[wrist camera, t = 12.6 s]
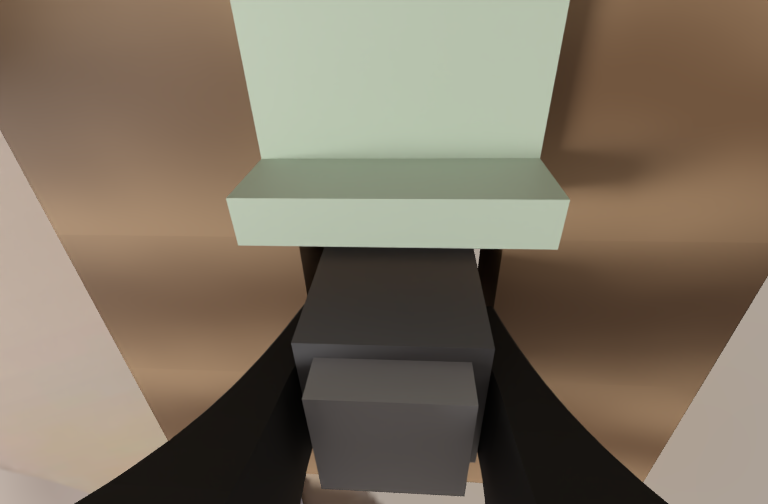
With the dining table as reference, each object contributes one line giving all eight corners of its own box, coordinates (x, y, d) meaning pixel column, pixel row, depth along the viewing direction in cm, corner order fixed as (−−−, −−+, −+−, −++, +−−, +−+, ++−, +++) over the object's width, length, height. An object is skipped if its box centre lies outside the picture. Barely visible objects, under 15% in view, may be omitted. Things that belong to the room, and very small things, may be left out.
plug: (455, 303, 15) (480, 506, 9) (348, 300, 15) (306, 496, 9) (464, 206, 13) (504, 392, 7) (338, 205, 13) (276, 384, 7)
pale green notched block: (525, 190, 10) (557, 249, 7) (276, 189, 10) (237, 245, 8) (588, -165, 6) (678, -245, 4) (215, -145, 7) (119, -208, 5)
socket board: (608, 423, 19) (637, 491, 16) (211, 407, 20) (182, 466, 18) (830, -70, 9) (989, -92, 6) (28, -39, 10) (-95, -47, 8)
